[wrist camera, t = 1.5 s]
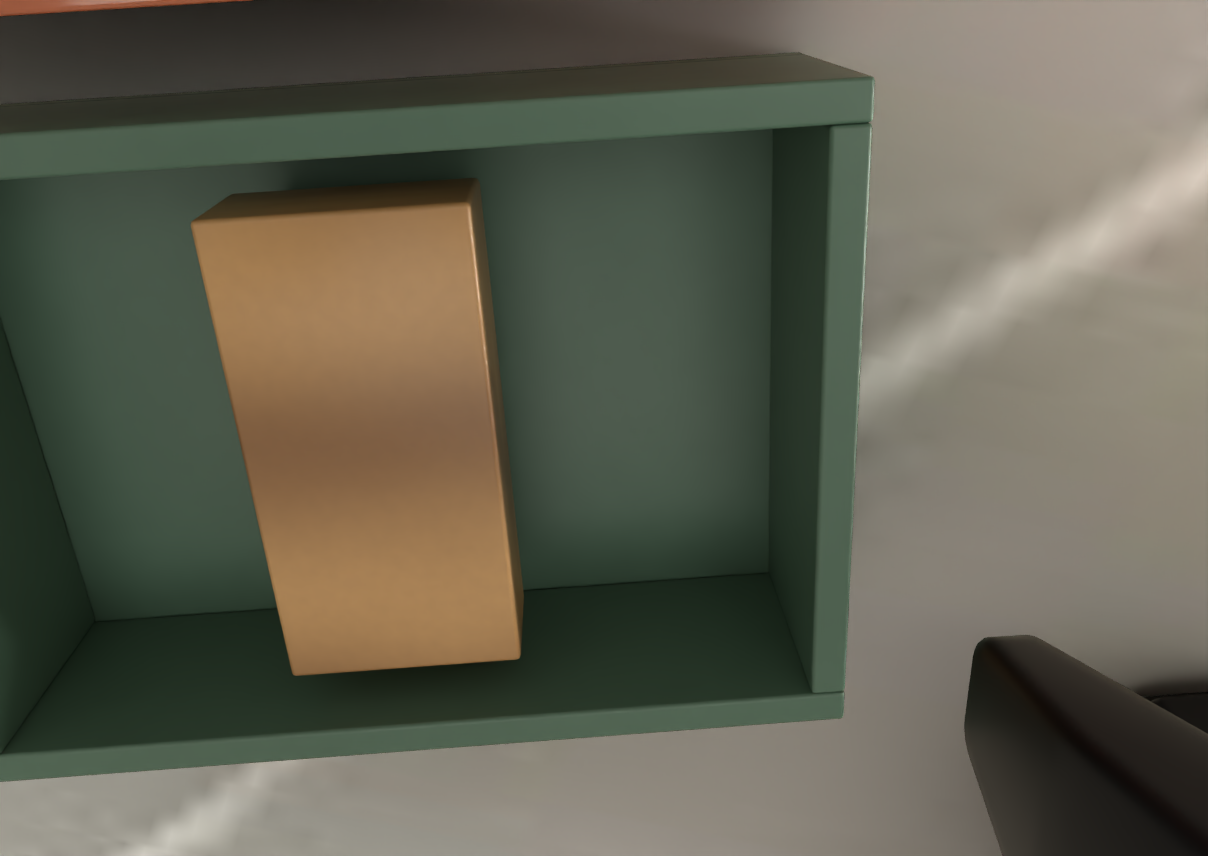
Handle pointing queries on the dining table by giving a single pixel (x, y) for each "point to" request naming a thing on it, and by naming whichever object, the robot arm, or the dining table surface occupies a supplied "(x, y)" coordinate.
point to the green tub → (530, 397)
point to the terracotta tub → (86, 5)
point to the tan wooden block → (370, 419)
